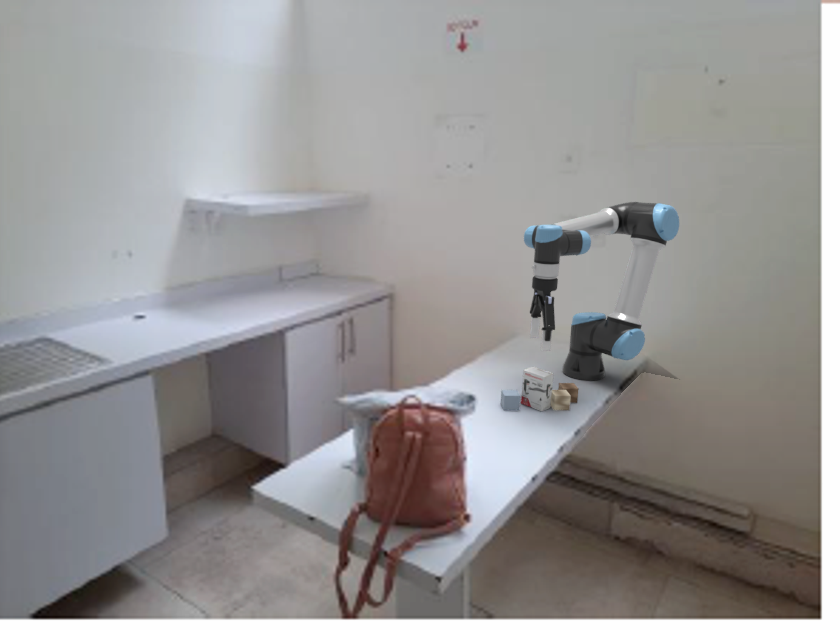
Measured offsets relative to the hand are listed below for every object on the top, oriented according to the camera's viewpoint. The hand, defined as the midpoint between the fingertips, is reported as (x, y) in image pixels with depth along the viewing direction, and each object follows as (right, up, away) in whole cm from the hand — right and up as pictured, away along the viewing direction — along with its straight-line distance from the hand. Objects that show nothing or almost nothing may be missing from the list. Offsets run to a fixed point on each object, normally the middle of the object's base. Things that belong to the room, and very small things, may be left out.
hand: (539, 343), depth 179 cm
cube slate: (-9, -20, +3) cm, 22 cm away
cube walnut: (+11, -19, +11) cm, 25 cm away
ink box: (0, -20, +5) cm, 21 cm away
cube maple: (+7, -21, +5) cm, 22 cm away
